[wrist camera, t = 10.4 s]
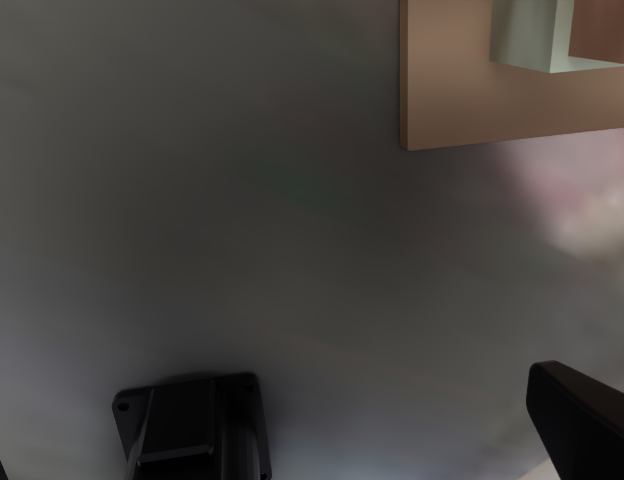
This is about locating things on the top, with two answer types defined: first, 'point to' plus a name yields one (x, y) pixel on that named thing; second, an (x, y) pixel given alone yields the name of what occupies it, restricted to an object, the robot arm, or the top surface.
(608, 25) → the top block
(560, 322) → the top surface
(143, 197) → the top surface
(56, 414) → the top surface
